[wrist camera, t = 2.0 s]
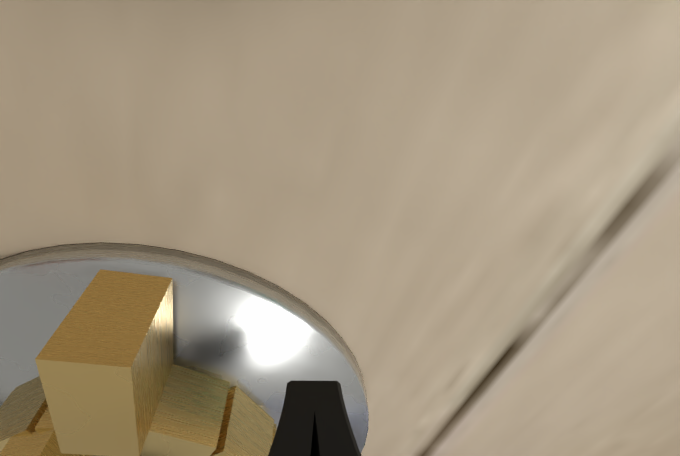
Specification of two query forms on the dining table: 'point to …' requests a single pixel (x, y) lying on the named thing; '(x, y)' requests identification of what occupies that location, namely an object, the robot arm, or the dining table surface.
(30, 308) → the flange
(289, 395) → the robot arm
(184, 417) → the ring nut
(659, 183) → the dining table surface
